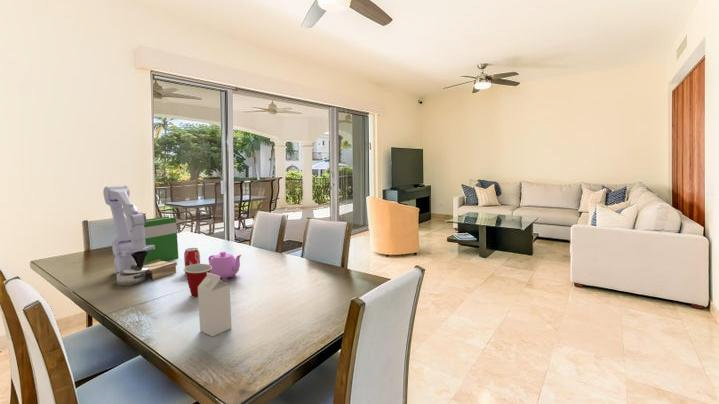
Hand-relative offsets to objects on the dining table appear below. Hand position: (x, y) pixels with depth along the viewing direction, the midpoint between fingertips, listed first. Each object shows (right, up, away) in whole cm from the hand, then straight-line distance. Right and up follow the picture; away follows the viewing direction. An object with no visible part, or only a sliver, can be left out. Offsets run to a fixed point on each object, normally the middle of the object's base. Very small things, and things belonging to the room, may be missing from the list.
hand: (140, 267), depth 166 cm
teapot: (+40, -6, +3) cm, 40 cm away
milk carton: (+57, -12, -50) cm, 77 cm away
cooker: (-2, -6, -3) cm, 7 cm away
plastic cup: (+37, -8, -19) cm, 43 cm away
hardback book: (-9, -3, +32) cm, 33 cm away
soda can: (+20, -5, +11) cm, 23 cm away
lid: (-1, -1, -1) cm, 2 cm away
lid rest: (+3, -5, +8) cm, 10 cm away
